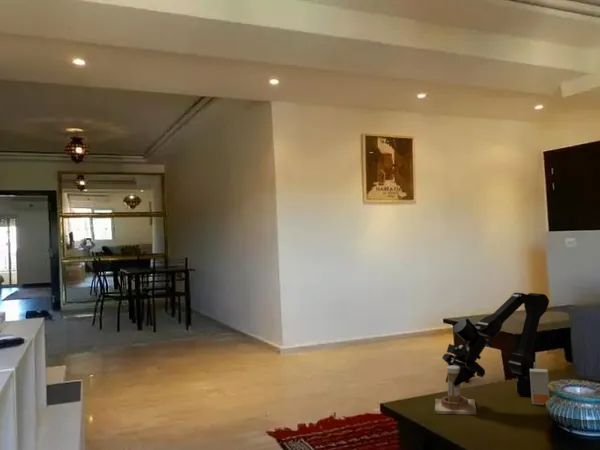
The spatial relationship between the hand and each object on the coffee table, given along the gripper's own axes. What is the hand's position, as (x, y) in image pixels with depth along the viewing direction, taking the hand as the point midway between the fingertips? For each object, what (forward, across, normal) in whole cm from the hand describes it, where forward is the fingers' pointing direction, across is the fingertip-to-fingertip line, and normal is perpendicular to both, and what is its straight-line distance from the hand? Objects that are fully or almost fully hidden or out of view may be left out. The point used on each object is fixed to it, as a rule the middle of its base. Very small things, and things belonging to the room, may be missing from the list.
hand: (450, 383), depth 191 cm
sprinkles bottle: (+4, -1, +6) cm, 8 cm away
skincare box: (-14, +11, +28) cm, 33 cm away
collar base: (+5, 0, +7) cm, 9 cm away
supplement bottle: (-23, -6, +36) cm, 43 cm away
